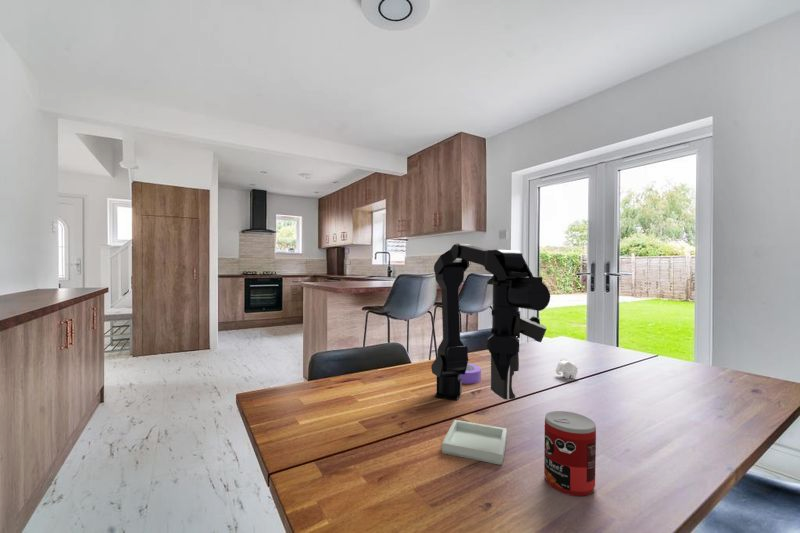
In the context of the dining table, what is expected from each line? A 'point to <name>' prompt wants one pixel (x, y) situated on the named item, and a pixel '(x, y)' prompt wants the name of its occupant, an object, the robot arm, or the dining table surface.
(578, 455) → the canned food
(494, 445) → the shallow rectangular tray
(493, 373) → the battery charger
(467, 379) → the masking tape
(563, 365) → the elephant figurine
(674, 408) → the dining table surface
